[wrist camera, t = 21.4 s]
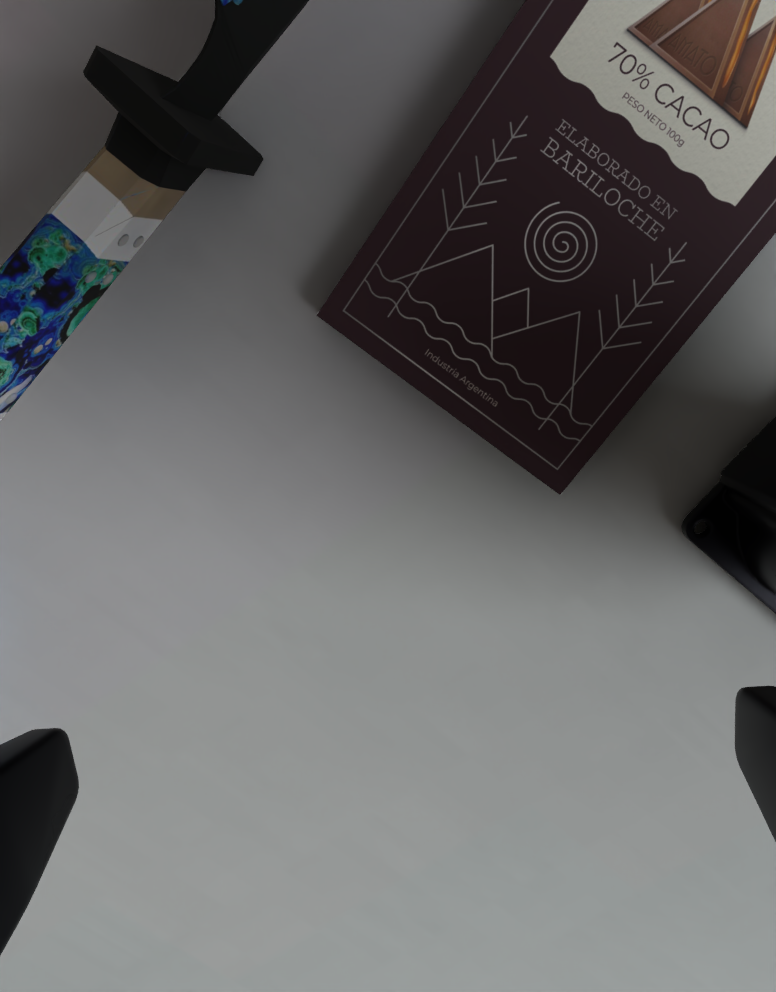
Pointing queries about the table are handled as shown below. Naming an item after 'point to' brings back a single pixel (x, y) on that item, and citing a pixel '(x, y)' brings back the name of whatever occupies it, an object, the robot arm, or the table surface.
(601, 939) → the table surface
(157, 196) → the knife
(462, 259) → the chocolate bar
